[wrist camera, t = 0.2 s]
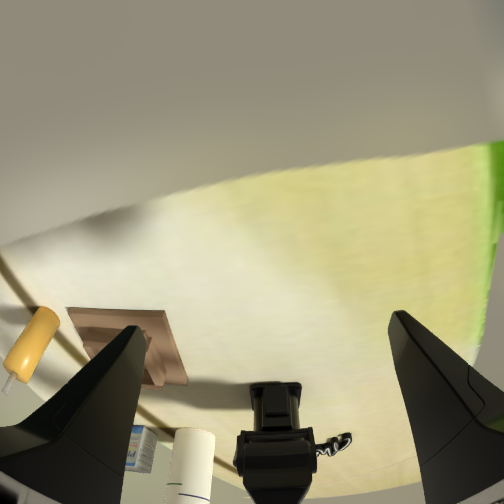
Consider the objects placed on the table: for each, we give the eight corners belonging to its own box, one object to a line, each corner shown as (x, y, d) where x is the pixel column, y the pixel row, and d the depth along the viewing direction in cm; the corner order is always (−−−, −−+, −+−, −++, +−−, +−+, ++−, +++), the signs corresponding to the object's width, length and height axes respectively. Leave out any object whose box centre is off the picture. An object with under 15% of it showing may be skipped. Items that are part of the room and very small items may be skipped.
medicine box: (144, 425, 45) (135, 466, 37) (158, 435, 47) (150, 474, 39) (114, 424, 46) (103, 461, 39) (128, 434, 48) (119, 470, 41)
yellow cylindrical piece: (64, 328, 32) (23, 406, 21) (45, 326, 32) (4, 398, 21) (52, 307, 30) (4, 386, 19) (33, 305, 30) (-14, 378, 19)
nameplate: (337, 433, 42) (365, 442, 46) (336, 425, 44) (364, 436, 47) (231, 468, 53) (264, 476, 56) (231, 462, 54) (264, 471, 58)
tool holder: (188, 379, 35) (184, 399, 33) (107, 371, 36) (100, 389, 33) (164, 310, 29) (157, 333, 26) (71, 307, 30) (59, 326, 27)
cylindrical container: (216, 444, 47) (206, 563, 26) (178, 440, 47) (162, 556, 26) (214, 430, 44) (202, 565, 22) (172, 425, 43) (151, 556, 22)
